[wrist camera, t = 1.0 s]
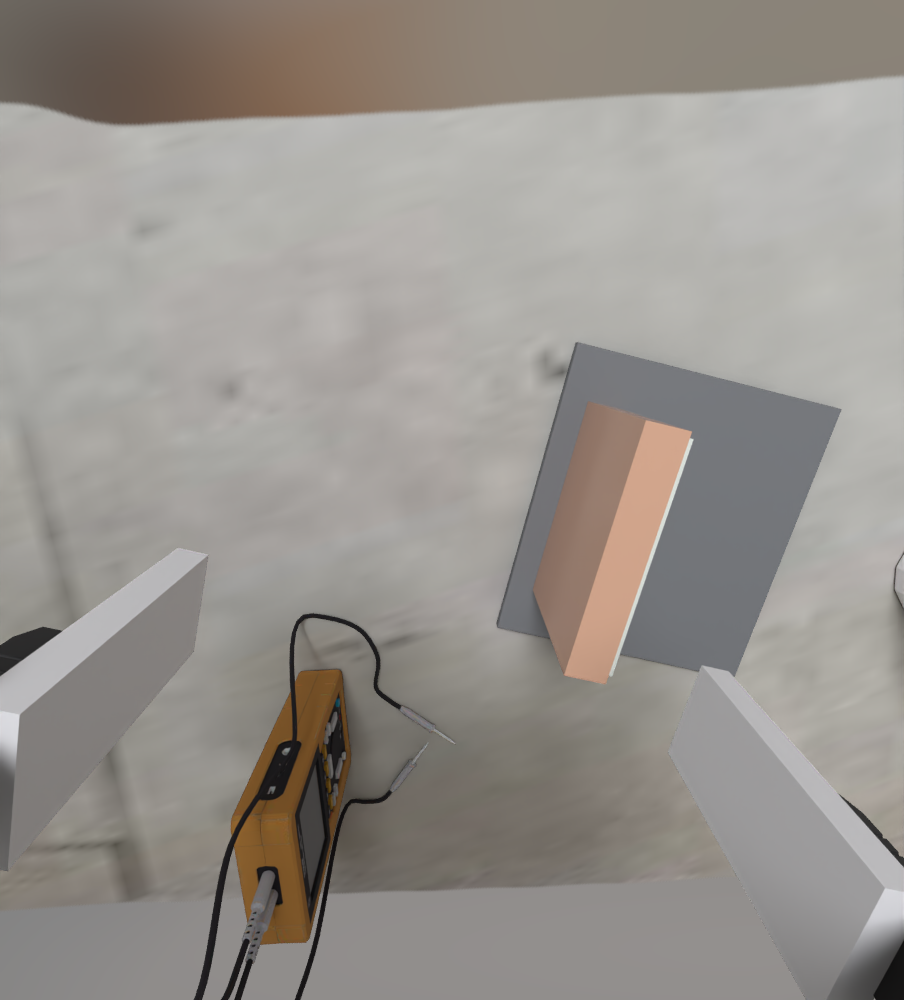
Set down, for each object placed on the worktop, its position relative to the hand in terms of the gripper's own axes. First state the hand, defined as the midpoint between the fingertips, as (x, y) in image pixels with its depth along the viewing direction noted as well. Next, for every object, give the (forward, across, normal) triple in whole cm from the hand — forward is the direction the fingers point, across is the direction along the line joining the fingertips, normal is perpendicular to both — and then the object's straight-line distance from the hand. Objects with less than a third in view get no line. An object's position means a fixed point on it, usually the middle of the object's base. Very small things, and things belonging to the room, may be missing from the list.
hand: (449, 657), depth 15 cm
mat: (+21, +13, +1) cm, 25 cm away
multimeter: (+21, -1, -16) cm, 27 cm away
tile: (+20, +8, +1) cm, 22 cm away
